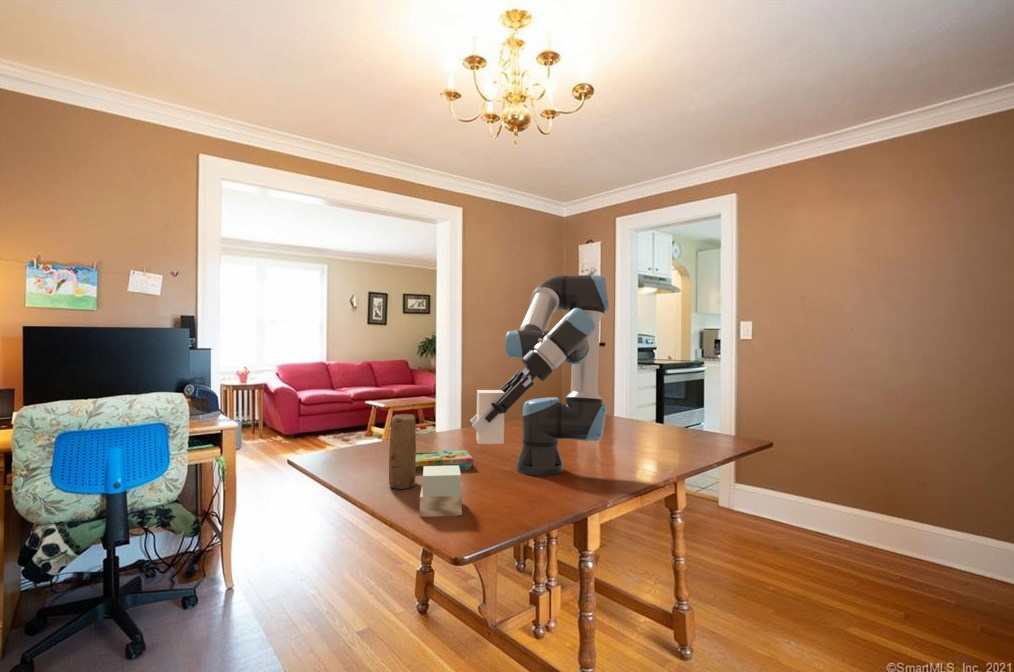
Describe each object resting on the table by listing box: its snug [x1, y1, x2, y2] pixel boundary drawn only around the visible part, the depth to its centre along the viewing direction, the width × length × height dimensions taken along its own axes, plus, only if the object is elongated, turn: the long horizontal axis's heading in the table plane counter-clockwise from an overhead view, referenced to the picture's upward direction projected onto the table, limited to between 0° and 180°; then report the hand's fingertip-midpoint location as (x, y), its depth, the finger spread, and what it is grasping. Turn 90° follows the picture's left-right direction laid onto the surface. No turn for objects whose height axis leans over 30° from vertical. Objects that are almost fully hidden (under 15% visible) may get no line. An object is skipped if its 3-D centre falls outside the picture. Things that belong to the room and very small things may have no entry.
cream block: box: [475, 389, 505, 445], centre depth 119 cm, size 6×6×12 cm
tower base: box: [419, 484, 463, 518], centre depth 124 cm, size 10×10×5 cm
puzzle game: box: [416, 449, 474, 472], centre depth 163 cm, size 12×5×20 cm
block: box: [388, 413, 417, 490], centre depth 143 cm, size 11×8×20 cm
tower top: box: [422, 465, 462, 497], centre depth 123 cm, size 9×9×5 cm
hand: (474, 427), depth 119 cm, fingers closed on cream block, 6 cm apart
